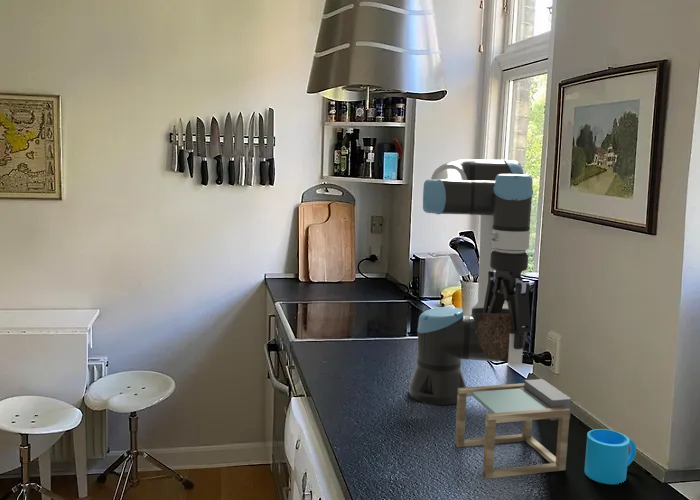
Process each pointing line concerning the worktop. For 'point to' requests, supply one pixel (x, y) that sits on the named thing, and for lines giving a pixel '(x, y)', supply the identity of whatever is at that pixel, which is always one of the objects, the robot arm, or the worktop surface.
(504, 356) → the rock
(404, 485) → the worktop surface
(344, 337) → the worktop surface
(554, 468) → the frame
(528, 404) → the trapdoor
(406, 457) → the worktop surface
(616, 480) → the mug
